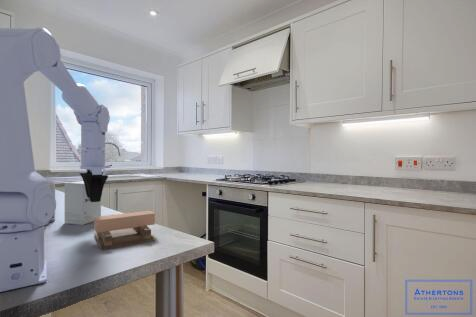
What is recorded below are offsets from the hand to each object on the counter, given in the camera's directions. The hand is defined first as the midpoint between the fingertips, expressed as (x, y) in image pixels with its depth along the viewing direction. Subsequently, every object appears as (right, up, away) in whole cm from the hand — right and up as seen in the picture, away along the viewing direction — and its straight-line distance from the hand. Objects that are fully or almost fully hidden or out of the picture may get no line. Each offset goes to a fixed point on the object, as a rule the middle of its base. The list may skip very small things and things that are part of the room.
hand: (93, 199), depth 72 cm
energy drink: (-22, -9, +12) cm, 26 cm away
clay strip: (+10, -7, -3) cm, 12 cm away
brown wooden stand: (+9, -10, -3) cm, 14 cm away
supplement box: (-10, -9, +13) cm, 19 cm away
